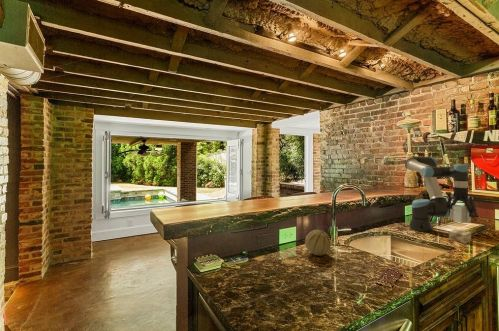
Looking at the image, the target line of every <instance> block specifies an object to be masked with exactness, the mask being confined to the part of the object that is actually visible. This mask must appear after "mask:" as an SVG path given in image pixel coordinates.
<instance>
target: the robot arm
mask: <svg viewBox="0 0 499 331" xmlns="http://www.w3.org/2000/svg"><path fill="white" fill-rule="evenodd" d="M404 167H405V169H407V170H409V171H414V172H417V173H419V174H421V175H422V176H423V181H424V182H425V183H424V184H425V187H426V189H427V193H428V195H429V198H430V199H427V198H425V199H424V198H420V199H418V198H417V199H414V200H413V201H411V220H410V222H409V224H408V228H409V229H410V230H413V231H417V232H426V233H431V232H433V226H432V223H431V217H435V218H436V217H437V218H440V217H441V218H448V217H449V218H450V219H451V220H452V206H453V205H457V203H458V202H459V201H461V202H462V203H463V204H464V206H465V207H467V209H468V211H469V212H467V222H470V223H471V222H472V218H473V217H474V216H473V215H474V213H476V212H477V207H476V203H475V200H474V198H475V197H474V196H472V195H471V196H470V195H469V188H468V187H469V173H470V172H469V171H470V170H469V165H468V164H462V163H461V164H458V163H457V164H453V166H438V161H437V159H436V158H435V157H434V156H412V157H408V158H406V160H405V162H404ZM438 178H453V193H449V194H448V198H446V197H444V196H443V192H442V189H441V187H440V184H439V181H438Z"/></svg>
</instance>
